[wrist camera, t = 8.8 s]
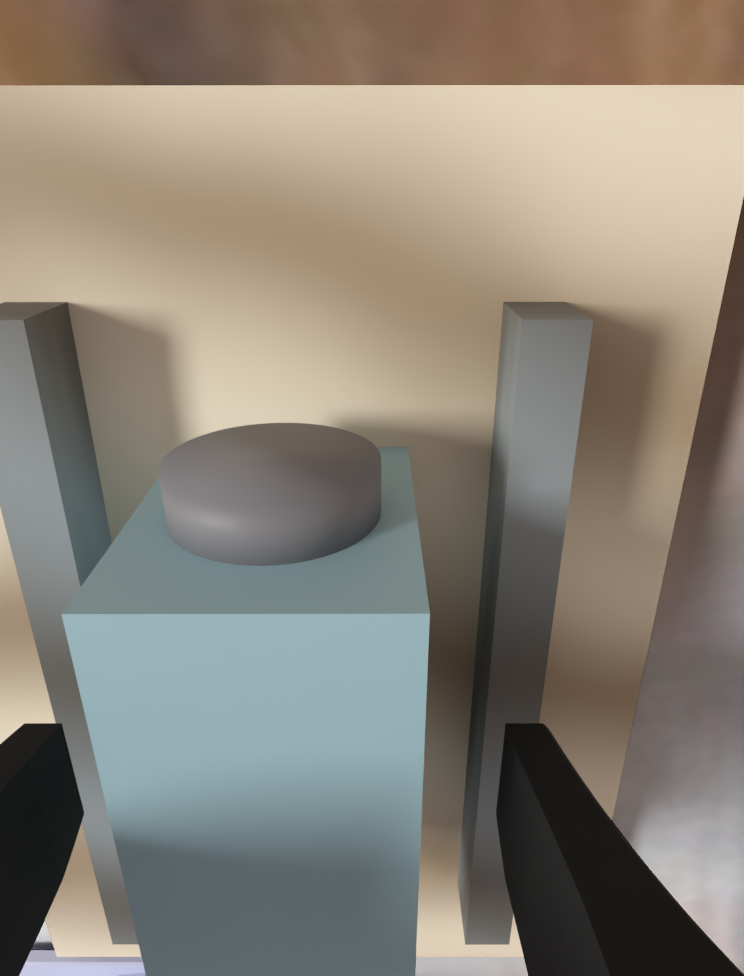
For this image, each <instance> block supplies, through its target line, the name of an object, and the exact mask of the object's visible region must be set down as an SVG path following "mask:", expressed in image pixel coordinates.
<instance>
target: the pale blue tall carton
mask: <svg viewBox="0 0 744 976" xmlns="http://www.w3.org/2000/svg"><path fill="white" fill-rule="evenodd" d="M61 615H62V619H63V623H64V627H65V632H66V636H67V640H68V644H69V649H70V653H71V657H72V662H73V666H74V670H75V674H76V679H77V683H78V687H79V692H80V696H81V700H82V704H83V709H84V713H85V717H86V721H87V726H88V730H89V734H90V739H91V743H92V747H93V751H94V756H95V760H96V764H97V768H98V773H99V777H100V781H101V786H102V790H103V794H104V798H105V803H106V807H107V811H108V816H109V820H110V824H111V828H112V833H113V837H114V841H115V845H116V850H117V854H118V858H119V863H120V867H121V871H122V875H123V880H124V884H125V888H126V892H127V897H128V901H129V905H130V910H131V914H132V918H133V922H134V927H135V931H136V935H137V940H138V944H139V948H140V952H141V957H142V961H143V965H144V969H145V974H146V976H415V967H416V942H417V918H418V893H419V869H420V844H421V820H422V795H423V771H424V746H425V722H426V697H427V673H428V648H429V624H430V611H429V603H428V595H427V588H426V580H425V573H424V565H423V558H422V550H421V543H420V535H419V527H418V520H417V512H416V505H415V497H414V490H413V482H412V475H411V467H410V459H409V452H408V447H376V446H375V445H374V444H373V443H372V442H370V441H369V440H367V439H366V438H364V437H362V436H360V435H357V434H355V433H352V432H349V431H346V430H343V429H339V428H335V427H330V426H324V425H316V424H306V423H265V424H253V425H245V426H239V427H233V428H228V429H223V430H219V431H215V432H211V433H208V434H205V435H202V436H199V437H196V438H194V439H191V440H189V441H187V442H185V443H183V444H181V445H179V446H178V447H176V448H174V449H173V450H172V451H170V452H169V453H168V454H167V455H166V456H165V457H164V458H163V459H162V461H161V463H160V465H159V478H158V480H157V481H156V482H155V484H154V485H153V487H152V488H151V489H150V491H149V492H148V494H147V495H146V496H145V498H144V499H143V501H142V502H141V503H140V505H139V506H138V508H137V509H136V510H135V512H134V513H133V515H132V516H131V517H130V519H129V520H128V522H127V523H126V524H125V526H124V527H123V529H122V530H121V531H120V533H119V534H118V536H117V537H116V538H115V540H114V541H113V543H112V544H111V545H110V547H109V548H108V550H107V551H106V552H105V554H104V555H103V557H102V558H101V559H100V561H99V562H98V564H97V565H96V566H95V568H94V569H93V571H92V572H91V573H90V575H89V576H88V578H87V579H86V580H85V582H84V583H83V585H82V586H81V587H80V589H79V590H78V592H77V593H76V594H75V596H74V597H73V599H72V600H71V601H70V603H69V604H68V606H67V607H66V608H65V610H64V611H63V613H62V614H61Z"/></svg>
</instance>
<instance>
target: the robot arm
mask: <svg viewBox="0 0 744 976" xmlns="http://www.w3.org/2000/svg"><path fill="white" fill-rule="evenodd" d="M83 816H84V810H83V806H82V802H81V798H80V794H79V790H78V786H77V782H76V778H75V774H74V770H73V766H72V762H71V758H70V754H69V750H68V746H67V742H66V738H65V734H64V730H63V726H62V723H24V724H23V725H22V726H21V727H20V728H18V729H17V730H16V731H15V732H14V733H13V734H11V735H10V736H9V737H8V738H7V739H6V740H5V741H3V742H2V743H1V744H0V976H146V974H145V969H144V965H143V961H142V957H57V956H56V953H55V950H31V949H32V947H33V945H34V943H35V940H36V938H37V936H38V934H39V932H40V929H41V927H42V925H43V923H44V921H45V918H46V916H47V914H48V912H49V909H50V907H51V905H52V903H53V901H54V898H55V896H56V894H57V892H58V889H59V887H60V885H61V882H62V880H63V877H64V875H65V872H66V869H67V866H68V863H69V860H70V857H71V854H72V851H73V848H74V845H75V842H76V838H77V835H78V832H79V829H80V826H81V822H82V819H83ZM496 818H497V825H498V833H499V840H500V847H501V854H502V861H503V868H504V875H505V881H506V885H507V889H508V894H509V898H510V902H511V906H512V910H513V914H514V918H515V923H516V927H517V931H518V935H519V939H520V943H521V947H522V951H523V955H524V959H525V963H526V967H527V971H528V976H744V974H743V973H742V972H741V971H740V970H739V969H738V968H737V967H736V966H735V965H734V964H733V963H732V962H731V961H730V960H729V958H728V957H727V956H726V955H725V954H724V953H723V952H722V951H721V950H720V949H719V948H718V947H717V946H716V945H715V944H714V943H713V941H712V940H711V939H710V938H709V937H708V936H707V935H706V934H705V933H704V932H703V931H702V929H701V928H700V927H699V926H698V925H697V924H696V923H695V922H694V921H693V919H692V918H691V917H690V916H689V915H688V914H687V913H686V911H685V910H684V909H683V908H682V907H681V906H680V905H679V903H678V902H677V901H676V900H675V899H674V898H673V896H672V895H671V894H670V893H669V892H668V890H667V889H666V888H665V887H664V886H663V884H662V883H661V882H660V881H659V880H658V878H657V877H656V876H655V875H654V874H653V873H652V871H651V870H650V869H649V868H648V866H647V865H646V864H645V863H644V861H643V860H642V859H641V858H640V856H639V855H638V854H637V853H636V851H635V850H634V849H633V848H632V846H631V845H630V844H629V842H628V841H627V840H626V838H625V837H624V836H623V834H622V833H621V832H620V830H619V829H618V828H617V827H616V825H615V824H614V823H613V821H612V820H611V819H610V817H609V816H608V815H607V813H606V812H605V811H604V809H603V808H602V807H601V805H600V804H599V802H598V801H597V800H596V798H595V797H594V796H593V794H592V793H591V791H590V790H589V788H588V787H587V786H586V784H585V783H584V781H583V780H582V778H581V777H580V776H579V774H578V773H577V771H576V770H575V768H574V767H573V765H572V764H571V762H570V761H569V759H568V758H567V756H566V755H565V753H564V752H563V750H562V749H561V747H560V745H559V744H558V742H557V741H556V739H555V738H554V736H553V734H552V733H551V731H550V730H549V728H548V727H547V726H545V725H544V724H543V723H506V724H505V733H504V743H503V752H502V761H501V770H500V780H499V789H498V798H497V808H496Z"/></svg>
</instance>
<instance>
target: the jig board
mask: <svg viewBox="0 0 744 976" xmlns="http://www.w3.org/2000/svg"><path fill="white" fill-rule="evenodd" d="M743 197H744V85H268V86H0V744H1V743H2V742H3V741H5V740H6V739H7V738H8V737H9V736H10V735H11V734H13V733H14V732H15V731H16V730H17V729H18V728H20V727H21V726H22V725H23V724H24V723H62V726H63V730H64V734H65V738H66V742H67V746H68V750H69V754H70V758H71V762H72V766H73V770H74V774H75V778H76V782H77V786H78V790H79V794H80V798H81V802H82V806H83V810H84V816H83V819H82V822H81V826H80V829H79V832H78V835H77V838H76V842H75V845H74V848H73V851H72V854H71V857H70V860H69V863H68V866H67V869H66V872H65V875H64V877H63V880H62V882H61V885H60V887H59V889H58V892H57V894H56V896H55V898H54V901H53V903H52V905H51V907H50V909H49V912H48V914H47V916H46V918H45V922H46V925H47V928H48V931H49V934H50V937H51V941H52V944H53V947H54V950H55V953H56V956H57V957H141V952H140V948H139V944H138V940H137V935H136V931H135V927H134V922H133V918H132V914H131V910H130V905H129V901H128V897H127V892H126V888H125V884H124V880H123V875H122V871H121V867H120V863H119V858H118V854H117V850H116V845H115V841H114V837H113V833H112V828H111V824H110V820H109V816H108V811H107V807H106V803H105V798H104V794H103V790H102V786H101V781H100V777H99V773H98V768H97V764H96V760H95V756H94V751H93V747H92V743H91V739H90V734H89V730H88V726H87V721H86V717H85V713H84V709H83V704H82V700H81V696H80V692H79V687H78V683H77V679H76V674H75V670H74V666H73V662H72V657H71V653H70V649H69V644H68V640H67V636H66V632H65V627H64V623H63V619H62V615H61V614H62V613H63V611H64V610H65V608H66V607H67V606H68V604H69V603H70V601H71V600H72V599H73V597H74V596H75V594H76V593H77V592H78V590H79V589H80V587H81V586H82V585H83V583H84V582H85V580H86V579H87V578H88V576H89V575H90V573H91V572H92V571H93V569H94V568H95V566H96V565H97V564H98V562H99V561H100V559H101V558H102V557H103V555H104V554H105V552H106V551H107V550H108V548H109V547H110V545H111V544H112V543H113V541H114V540H115V538H116V537H117V536H118V534H119V533H120V531H121V530H122V529H123V527H124V526H125V524H126V523H127V522H128V520H129V519H130V517H131V516H132V515H133V513H134V512H135V510H136V509H137V508H138V506H139V505H140V503H141V502H142V501H143V499H144V498H145V496H146V495H147V494H148V492H149V491H150V489H151V488H152V487H153V485H154V484H155V482H156V481H157V480H158V478H159V465H160V463H161V461H162V459H163V458H164V457H165V456H166V455H167V454H168V453H169V452H170V451H172V450H173V449H174V448H176V447H178V446H179V445H181V444H183V443H185V442H187V441H189V440H191V439H194V438H196V437H199V436H202V435H205V434H208V433H211V432H215V431H219V430H223V429H228V428H233V427H239V426H245V425H253V424H265V423H306V424H316V425H324V426H330V427H335V428H339V429H343V430H346V431H349V432H352V433H355V434H357V435H360V436H362V437H364V438H366V439H367V440H369V441H370V442H372V443H373V444H374V445H375V446H376V447H408V452H409V459H410V467H411V475H412V482H413V490H414V497H415V505H416V512H417V520H418V527H419V535H420V543H421V550H422V558H423V565H424V573H425V580H426V588H427V595H428V603H429V611H430V624H429V648H428V673H427V697H426V722H425V746H424V771H423V795H422V820H421V844H420V869H419V893H418V918H417V942H416V957H524V955H523V951H522V947H521V943H520V939H519V935H518V931H517V927H516V923H515V918H514V914H513V910H512V906H511V902H510V898H509V894H508V889H507V885H506V881H505V875H504V868H503V861H502V854H501V847H500V840H499V833H498V825H497V818H496V808H497V798H498V789H499V780H500V770H501V761H502V752H503V743H504V733H505V724H506V723H543V724H544V725H545V726H547V727H548V728H549V730H550V731H551V733H552V734H553V736H554V738H555V739H556V741H557V742H558V744H559V745H560V747H561V749H562V750H563V752H564V753H565V755H566V756H567V758H568V759H569V761H570V762H571V764H572V765H573V767H574V768H575V770H576V771H577V773H578V774H579V776H580V777H581V778H582V780H583V781H584V783H585V784H586V786H587V787H588V788H589V790H590V791H591V793H592V794H593V796H594V797H595V798H596V800H597V801H598V802H599V804H600V805H601V807H602V808H603V809H604V811H605V812H606V813H607V815H608V816H609V817H610V819H611V820H612V819H613V814H614V809H615V804H616V800H617V795H618V790H619V785H620V781H621V776H622V771H623V766H624V762H625V757H626V752H627V747H628V743H629V738H630V733H631V728H632V724H633V719H634V714H635V710H636V705H637V700H638V695H639V691H640V686H641V681H642V676H643V672H644V667H645V662H646V657H647V653H648V648H649V643H650V638H651V634H652V629H653V624H654V619H655V615H656V610H657V605H658V600H659V596H660V591H661V586H662V581H663V577H664V572H665V567H666V562H667V558H668V553H669V548H670V544H671V539H672V534H673V529H674V525H675V520H676V515H677V510H678V506H679V501H680V496H681V491H682V487H683V482H684V477H685V472H686V468H687V463H688V458H689V453H690V449H691V444H692V439H693V434H694V430H695V425H696V420H697V415H698V411H699V406H700V401H701V397H702V392H703V387H704V382H705V378H706V373H707V368H708V363H709V359H710V354H711V349H712V344H713V340H714V335H715V330H716V325H717V321H718V316H719V311H720V306H721V302H722V297H723V292H724V287H725V283H726V278H727V273H728V268H729V264H730V259H731V254H732V250H733V245H734V240H735V235H736V231H737V226H738V221H739V216H740V212H741V207H742V202H743Z"/></svg>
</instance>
